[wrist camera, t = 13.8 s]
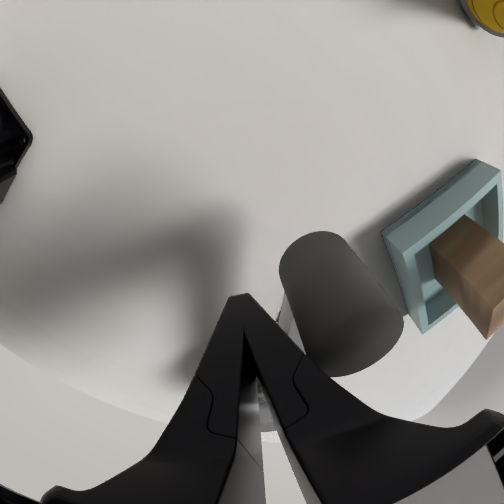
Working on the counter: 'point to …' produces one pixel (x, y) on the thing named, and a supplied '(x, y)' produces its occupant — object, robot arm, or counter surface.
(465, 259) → the block
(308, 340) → the crank
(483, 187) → the tray
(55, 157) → the counter surface
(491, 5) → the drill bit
